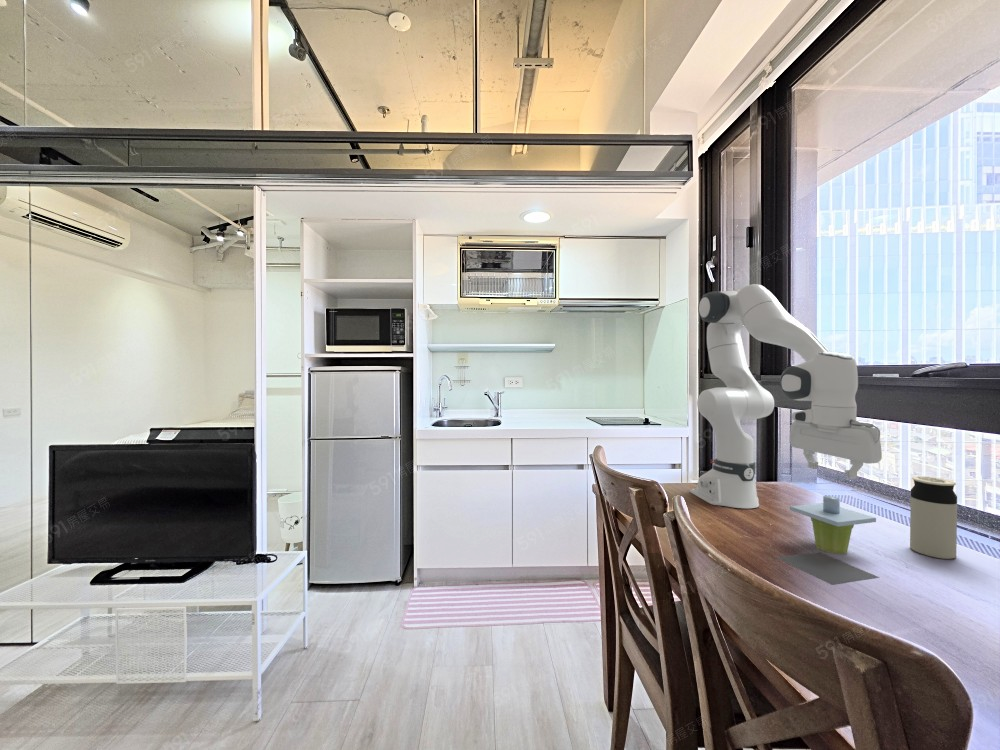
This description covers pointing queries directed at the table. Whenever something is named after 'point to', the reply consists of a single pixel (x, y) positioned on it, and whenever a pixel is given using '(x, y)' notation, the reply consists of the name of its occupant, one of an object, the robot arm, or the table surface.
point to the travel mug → (933, 517)
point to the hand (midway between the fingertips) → (831, 473)
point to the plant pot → (831, 536)
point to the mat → (827, 568)
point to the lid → (832, 513)
